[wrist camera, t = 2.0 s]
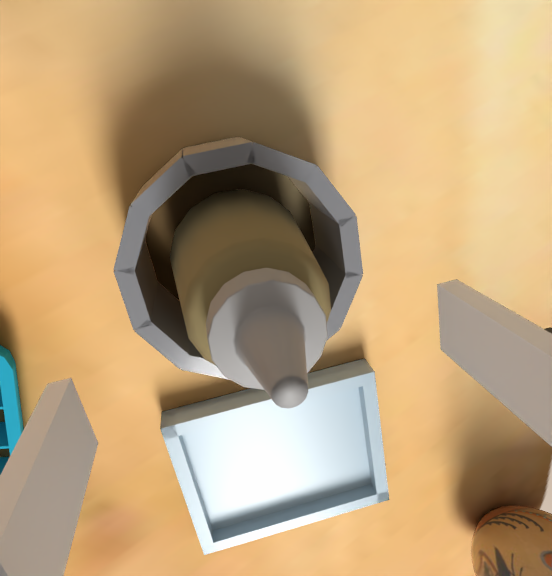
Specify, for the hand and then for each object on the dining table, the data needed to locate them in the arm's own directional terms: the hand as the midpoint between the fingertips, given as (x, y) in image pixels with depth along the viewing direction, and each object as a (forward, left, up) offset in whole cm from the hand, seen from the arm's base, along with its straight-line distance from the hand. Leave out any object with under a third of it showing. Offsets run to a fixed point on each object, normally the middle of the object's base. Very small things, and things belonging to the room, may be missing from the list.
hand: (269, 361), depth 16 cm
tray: (0, +18, -16) cm, 24 cm away
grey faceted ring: (0, 0, -16) cm, 16 cm away
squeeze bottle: (0, 0, -16) cm, 16 cm away
